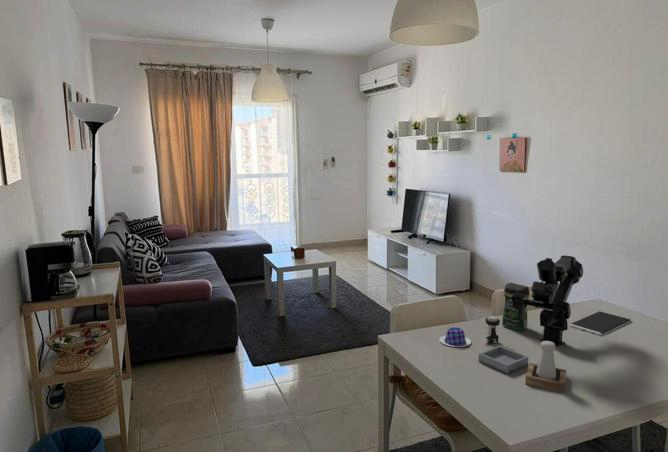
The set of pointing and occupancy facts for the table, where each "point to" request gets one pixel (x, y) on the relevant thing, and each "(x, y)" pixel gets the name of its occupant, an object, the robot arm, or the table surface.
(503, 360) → the grey tray
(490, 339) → the push button
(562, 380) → the walnut socket
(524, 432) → the table surface
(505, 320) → the coffee jar
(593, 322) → the dark flat slab
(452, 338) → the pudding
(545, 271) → the robot arm
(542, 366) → the salt shaker
